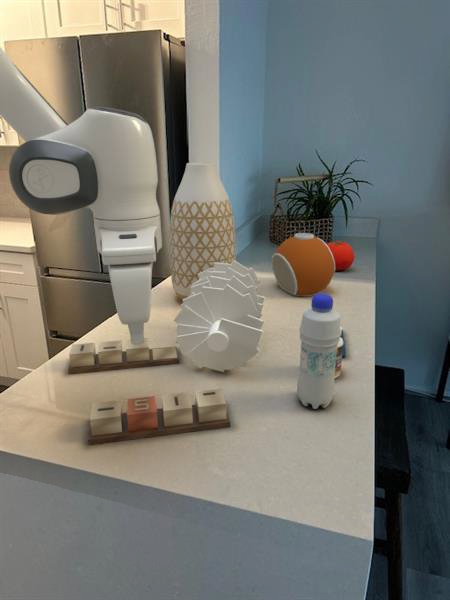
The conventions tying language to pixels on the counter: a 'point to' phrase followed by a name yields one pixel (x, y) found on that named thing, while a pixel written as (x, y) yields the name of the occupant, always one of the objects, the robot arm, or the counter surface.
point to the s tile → (142, 413)
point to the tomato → (341, 254)
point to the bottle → (318, 352)
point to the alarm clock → (303, 265)
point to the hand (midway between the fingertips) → (137, 328)
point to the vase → (199, 227)
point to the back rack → (118, 356)
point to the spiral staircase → (221, 318)
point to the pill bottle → (338, 357)
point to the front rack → (160, 417)
